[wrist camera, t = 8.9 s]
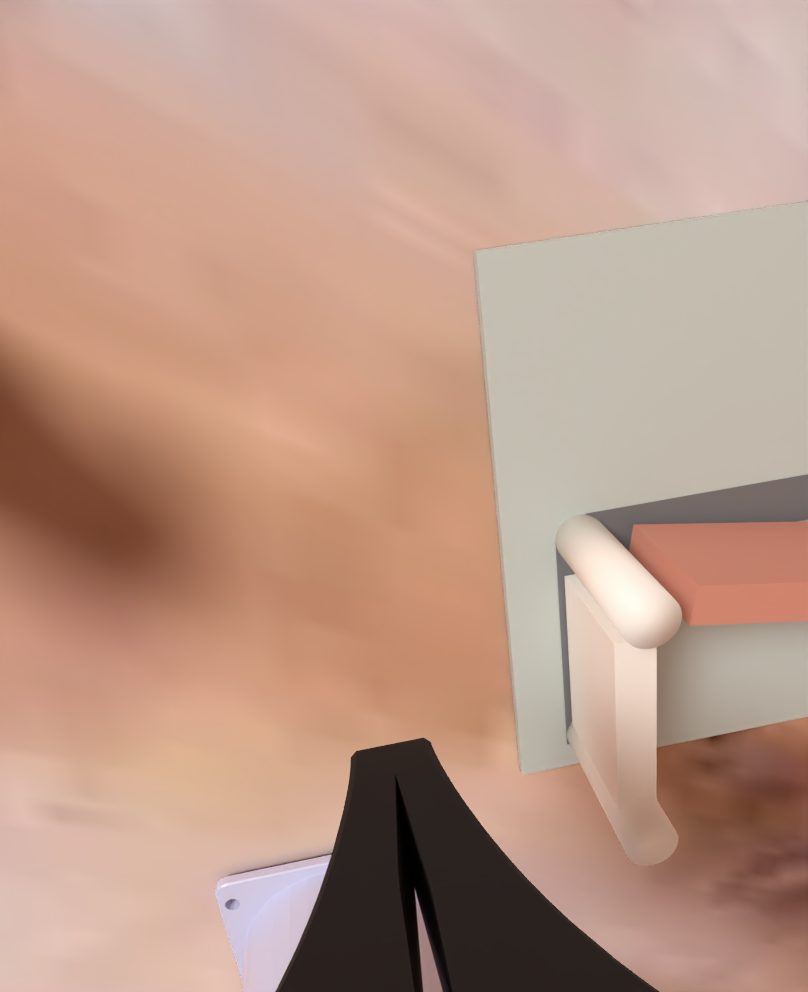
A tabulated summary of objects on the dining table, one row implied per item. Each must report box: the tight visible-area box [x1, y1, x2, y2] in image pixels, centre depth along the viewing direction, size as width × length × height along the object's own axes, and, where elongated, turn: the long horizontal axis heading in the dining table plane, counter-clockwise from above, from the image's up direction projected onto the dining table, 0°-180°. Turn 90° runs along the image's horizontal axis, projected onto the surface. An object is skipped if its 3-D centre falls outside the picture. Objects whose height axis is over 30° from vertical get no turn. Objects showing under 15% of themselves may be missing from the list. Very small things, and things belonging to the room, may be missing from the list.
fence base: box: [555, 514, 682, 866], centre depth 23 cm, size 9×2×6 cm, turn 7°
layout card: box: [473, 201, 808, 775], centre depth 24 cm, size 18×15×1 cm
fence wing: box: [629, 521, 808, 626], centre depth 22 cm, size 8×2×5 cm, turn 88°
